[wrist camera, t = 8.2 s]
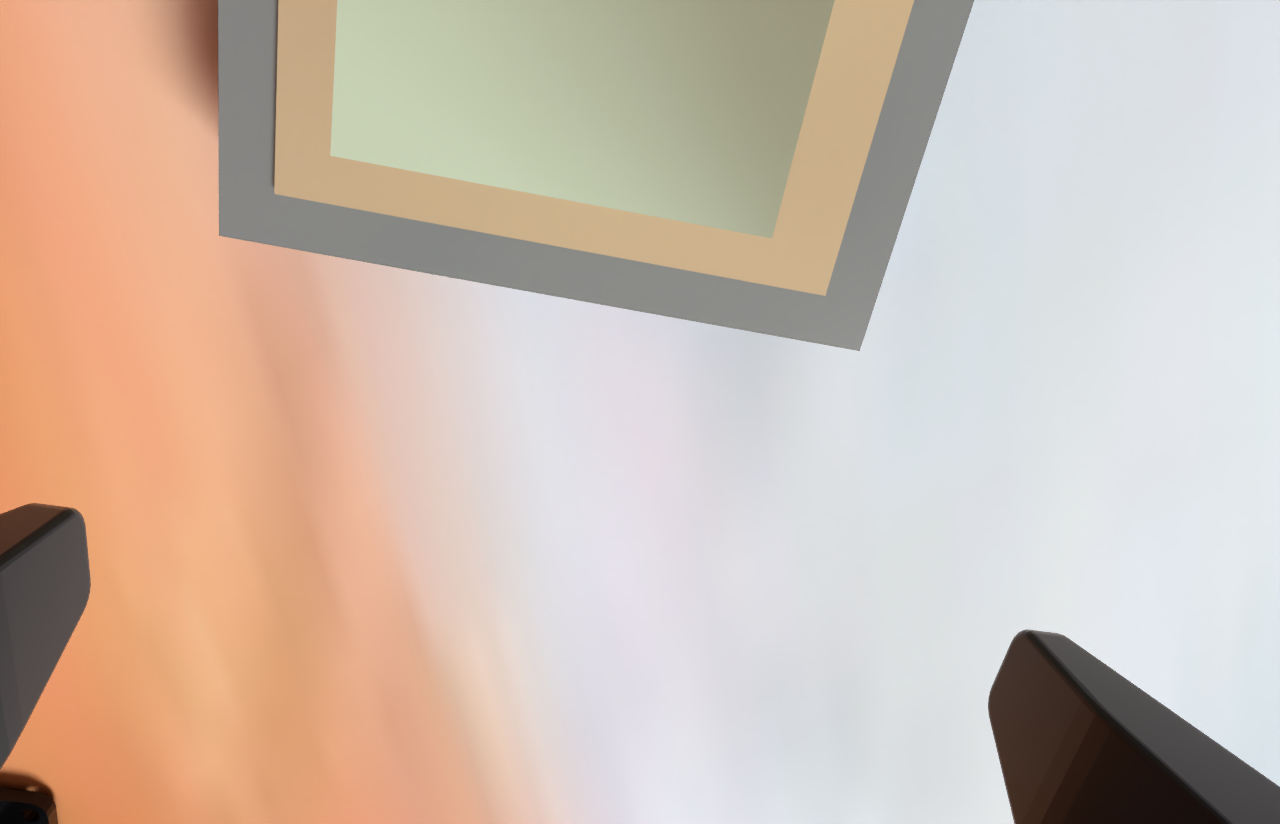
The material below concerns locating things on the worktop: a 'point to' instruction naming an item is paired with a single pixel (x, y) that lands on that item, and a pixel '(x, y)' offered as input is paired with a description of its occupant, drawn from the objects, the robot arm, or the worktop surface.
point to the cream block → (585, 98)
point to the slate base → (588, 234)
